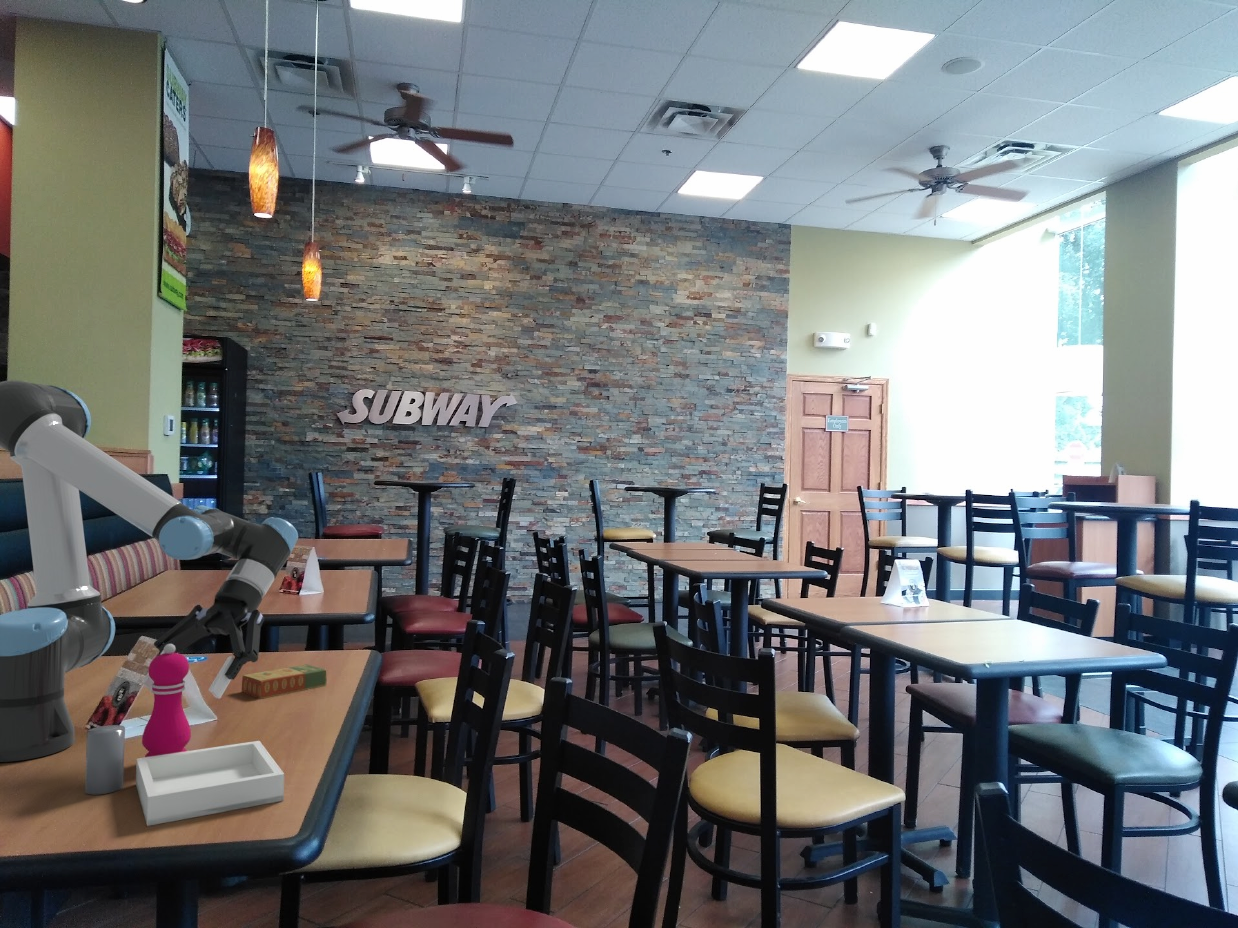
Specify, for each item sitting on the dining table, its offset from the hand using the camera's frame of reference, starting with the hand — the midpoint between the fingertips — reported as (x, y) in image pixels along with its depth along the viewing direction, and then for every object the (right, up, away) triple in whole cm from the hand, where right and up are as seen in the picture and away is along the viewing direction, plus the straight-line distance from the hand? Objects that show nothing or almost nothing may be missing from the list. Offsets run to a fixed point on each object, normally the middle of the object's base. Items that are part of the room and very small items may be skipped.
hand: (180, 690), depth 143 cm
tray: (+11, -12, -13) cm, 21 cm away
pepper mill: (-2, -12, -1) cm, 12 cm away
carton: (-1, -13, +48) cm, 49 cm away
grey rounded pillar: (-5, -12, -13) cm, 18 cm away
